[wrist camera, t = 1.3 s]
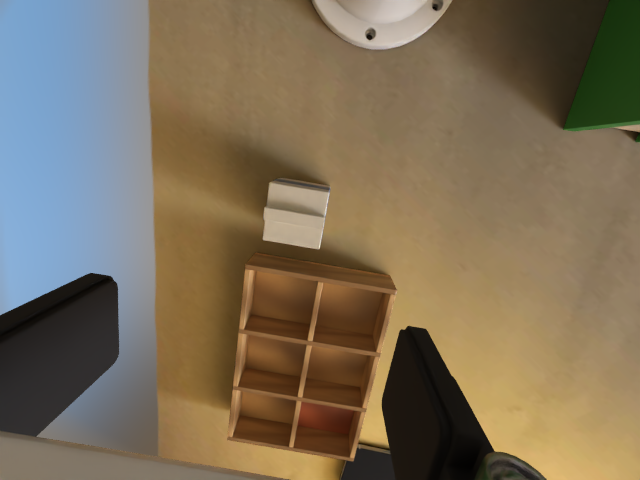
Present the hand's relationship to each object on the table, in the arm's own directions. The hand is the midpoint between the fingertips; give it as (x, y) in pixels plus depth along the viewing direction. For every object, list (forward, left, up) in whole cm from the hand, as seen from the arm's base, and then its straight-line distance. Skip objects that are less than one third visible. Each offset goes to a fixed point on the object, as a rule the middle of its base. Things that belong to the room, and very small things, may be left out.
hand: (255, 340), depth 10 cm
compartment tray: (+15, +2, -21) cm, 26 cm away
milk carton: (-1, -1, -21) cm, 21 cm away
